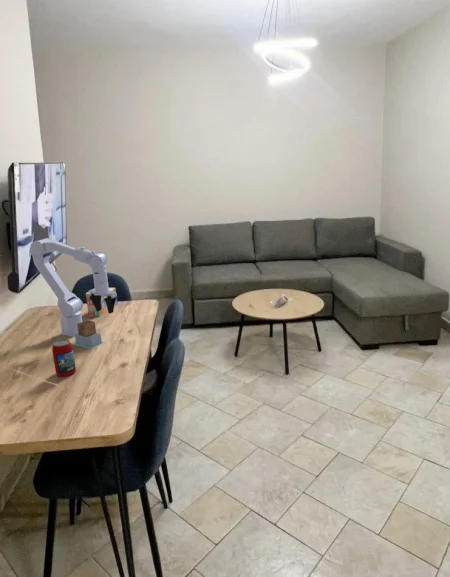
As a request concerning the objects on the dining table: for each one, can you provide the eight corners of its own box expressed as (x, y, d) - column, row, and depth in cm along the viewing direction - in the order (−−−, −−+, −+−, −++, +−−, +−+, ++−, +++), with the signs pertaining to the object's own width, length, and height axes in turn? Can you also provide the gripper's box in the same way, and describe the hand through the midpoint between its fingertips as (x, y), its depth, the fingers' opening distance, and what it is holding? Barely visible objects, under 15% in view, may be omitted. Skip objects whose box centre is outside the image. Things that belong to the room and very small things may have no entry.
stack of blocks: (107, 303, 238) (104, 282, 235) (117, 304, 237) (115, 282, 234) (88, 316, 218) (85, 293, 215) (100, 316, 217) (96, 293, 213)
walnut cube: (78, 335, 179) (76, 323, 178) (88, 331, 183) (86, 320, 182) (86, 337, 176) (85, 325, 175) (96, 333, 180) (94, 321, 179)
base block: (76, 343, 181) (74, 334, 180) (85, 339, 186) (84, 330, 184) (92, 347, 176) (91, 338, 175) (101, 343, 180) (100, 334, 179)
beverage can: (64, 379, 150) (59, 347, 147) (52, 375, 154) (47, 344, 150) (80, 372, 155) (75, 340, 152) (68, 368, 159) (63, 337, 156)
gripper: (82, 282, 186) (86, 312, 190) (105, 285, 178) (109, 316, 182) (94, 278, 192) (98, 307, 195) (118, 281, 184) (121, 311, 188)
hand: (104, 311), depth 189 cm, fingers open, 7 cm apart
